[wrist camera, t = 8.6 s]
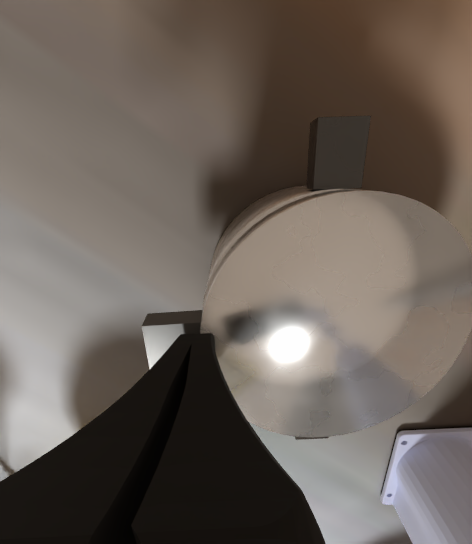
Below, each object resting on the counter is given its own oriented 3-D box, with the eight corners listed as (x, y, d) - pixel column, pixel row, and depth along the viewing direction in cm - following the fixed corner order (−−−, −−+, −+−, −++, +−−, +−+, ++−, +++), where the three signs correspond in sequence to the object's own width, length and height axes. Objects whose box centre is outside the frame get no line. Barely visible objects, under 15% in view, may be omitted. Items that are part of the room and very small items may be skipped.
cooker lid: (424, 409, 14) (439, 425, 13) (168, 433, 13) (165, 452, 13) (491, 184, 10) (519, 184, 9) (127, 197, 9) (118, 200, 8)
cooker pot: (371, 380, 20) (414, 442, 15) (217, 386, 20) (213, 451, 15) (418, 131, 14) (514, 108, 9) (199, 138, 14) (183, 118, 9)
